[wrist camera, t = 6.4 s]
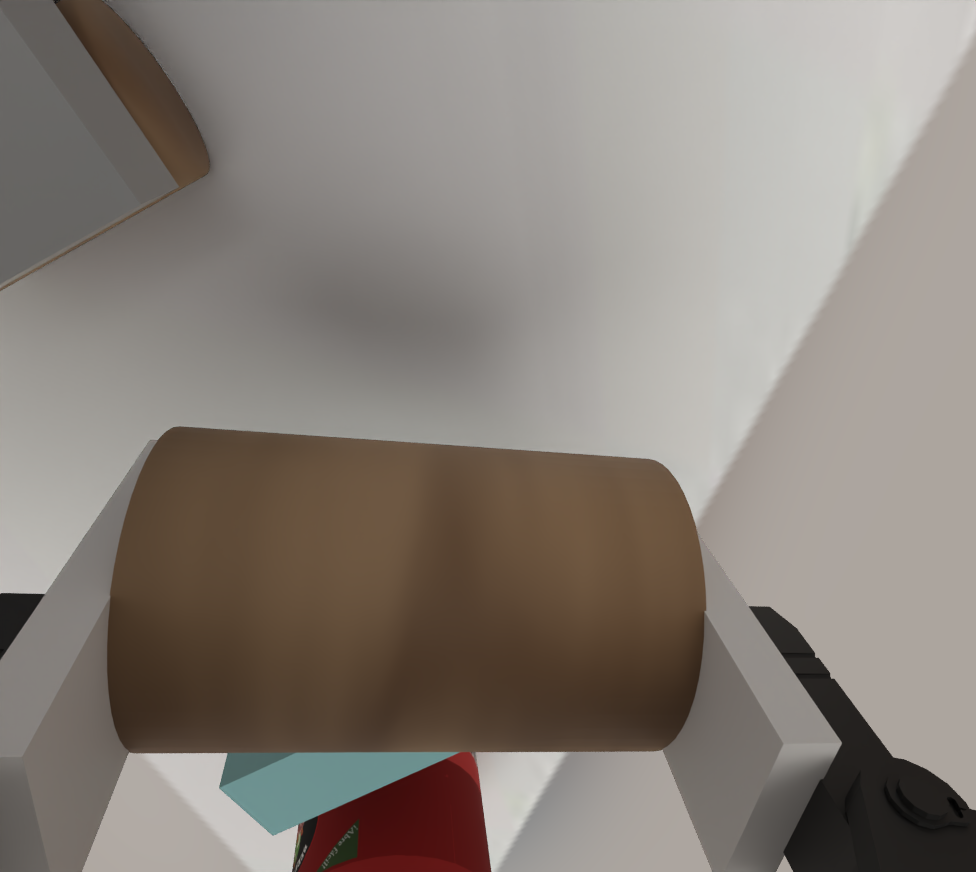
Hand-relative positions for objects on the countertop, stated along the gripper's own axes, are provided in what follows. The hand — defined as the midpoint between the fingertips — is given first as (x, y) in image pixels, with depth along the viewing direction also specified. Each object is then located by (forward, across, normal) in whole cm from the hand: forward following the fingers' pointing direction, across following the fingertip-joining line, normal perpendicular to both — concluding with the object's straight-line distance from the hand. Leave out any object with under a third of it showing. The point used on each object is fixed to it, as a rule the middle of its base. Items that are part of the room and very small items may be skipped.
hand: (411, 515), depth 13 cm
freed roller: (-2, 0, 0) cm, 2 cm away
